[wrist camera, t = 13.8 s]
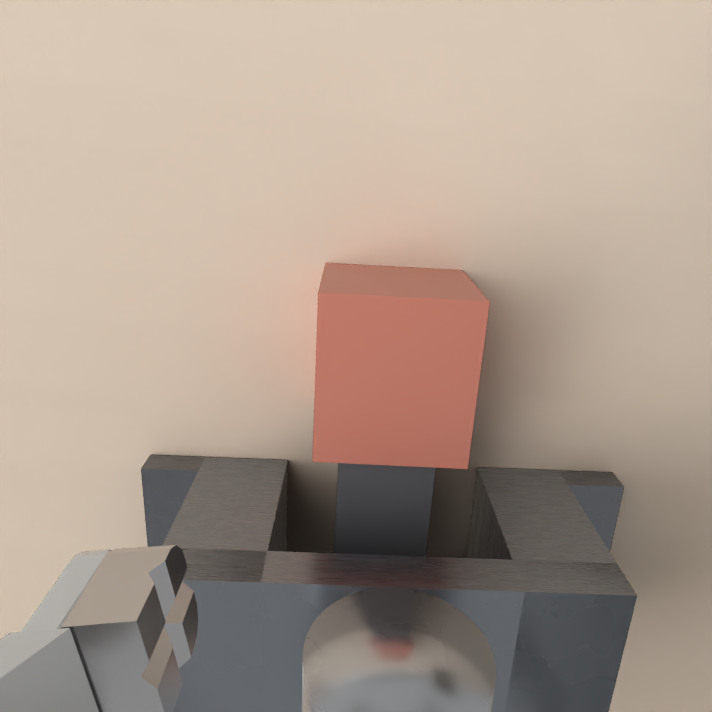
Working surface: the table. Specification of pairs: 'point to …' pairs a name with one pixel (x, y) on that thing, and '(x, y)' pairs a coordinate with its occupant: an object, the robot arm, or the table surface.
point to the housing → (396, 599)
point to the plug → (394, 395)
